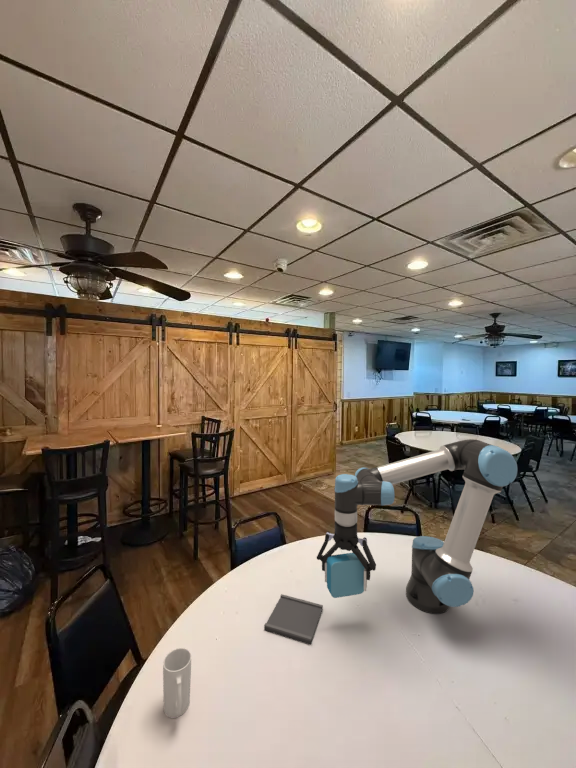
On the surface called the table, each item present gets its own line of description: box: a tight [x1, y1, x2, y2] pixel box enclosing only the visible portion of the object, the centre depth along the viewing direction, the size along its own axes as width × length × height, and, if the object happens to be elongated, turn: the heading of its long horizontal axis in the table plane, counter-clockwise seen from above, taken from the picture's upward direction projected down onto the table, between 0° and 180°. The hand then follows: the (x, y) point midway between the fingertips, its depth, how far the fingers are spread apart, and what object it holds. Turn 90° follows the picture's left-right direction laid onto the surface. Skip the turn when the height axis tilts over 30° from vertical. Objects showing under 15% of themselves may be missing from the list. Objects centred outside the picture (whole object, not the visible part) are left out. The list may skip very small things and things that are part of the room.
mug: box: [162, 647, 192, 719], centre depth 79 cm, size 10×7×12 cm, turn 23°
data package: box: [326, 552, 365, 599], centre depth 108 cm, size 12×4×12 cm, turn 103°
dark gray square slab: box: [263, 593, 324, 646], centre depth 110 cm, size 16×16×2 cm
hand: (345, 584), depth 109 cm, fingers closed on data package, 12 cm apart
